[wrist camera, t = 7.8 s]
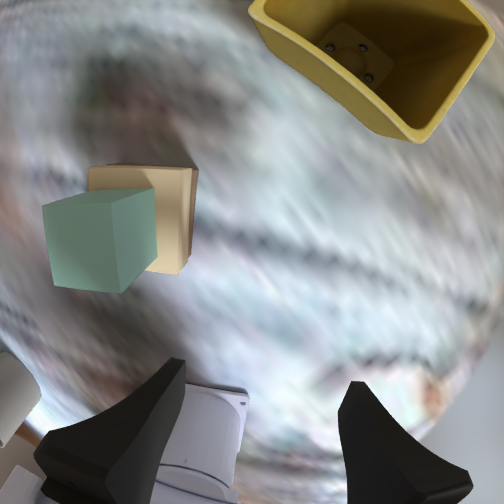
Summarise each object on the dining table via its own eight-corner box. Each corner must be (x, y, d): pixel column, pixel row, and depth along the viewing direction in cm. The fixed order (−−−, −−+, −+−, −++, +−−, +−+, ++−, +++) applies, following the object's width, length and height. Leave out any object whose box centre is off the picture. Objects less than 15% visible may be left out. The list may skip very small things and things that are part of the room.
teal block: (157, 257, 17) (121, 293, 13) (100, 253, 17) (54, 285, 13) (154, 187, 16) (111, 202, 11) (94, 189, 16) (42, 205, 12)
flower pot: (254, 68, 17) (240, 9, 9) (329, -9, 15) (356, -82, 6) (359, 150, 19) (420, 149, 10) (426, 67, 16) (499, 34, 8)
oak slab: (187, 261, 20) (177, 274, 18) (107, 251, 20) (91, 262, 18) (192, 168, 18) (181, 170, 16) (106, 165, 18) (88, 167, 16)
